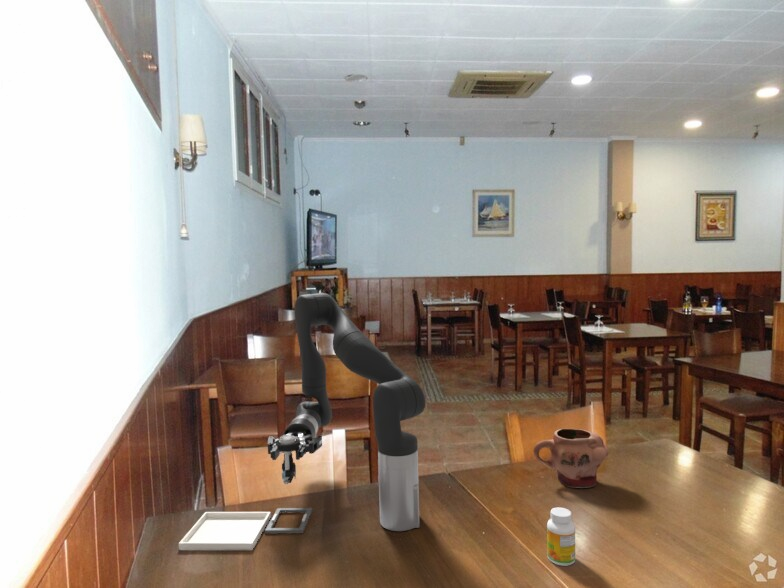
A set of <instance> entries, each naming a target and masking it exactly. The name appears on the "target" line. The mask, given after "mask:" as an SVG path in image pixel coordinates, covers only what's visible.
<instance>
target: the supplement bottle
mask: <svg viewBox="0 0 784 588" xmlns="http://www.w3.org/2000/svg"><path fill="white" fill-rule="evenodd" d="M546 549H547V550H546V555H547V558H548V560H549V562H551V563H553V564H555V565H557V566H563V567H565V566H566V567H567V566H568V567H569V566H571V565H573V564H574V563H575V562H576V526H575V524H574V523H573V521H572V511H570V509H567V508H565V507H560V506H559V507H558V506H557V507H553V508H551V510H550V518H549V519H548V521H547V524H546Z"/></svg>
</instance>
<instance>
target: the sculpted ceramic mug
mask: <svg viewBox="0 0 784 588" xmlns="http://www.w3.org/2000/svg"><path fill="white" fill-rule="evenodd" d="M544 448H547V449H549V450H550V458H548V460H543V459H542V458H541V457H540V452H541V450H542V449H544ZM533 455H534V457H535V459H537V461H539V463H542V465H544V466H545V467H547V468H548V469H551V471H556V473H557V480H558V481H559V482H560V483H561V484H562V485H563V486H566V487H569V488H575V489H576V488H577V489H578V488H579V489H585V488H586V489H588V488H593V487H595V486H596V485H597V483H598V480H597V471H598V468H599V467H600V466H601V465H602V463H603V462H604V461H605V460H606V459H607V457H609V455H610V450H609V448H608V446H606V445H605V444H604V439H603V438H602V437H601V436H600V435H599V434H598V433H596V432H592V431H589V430H587V429H586V430H585V429H577V428H560V429H557V430H555V431H554V432H553V437H552V439H544V440H540V441H538V442H537V443H535V446H534V447H533Z"/></svg>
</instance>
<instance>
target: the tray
mask: <svg viewBox="0 0 784 588" xmlns="http://www.w3.org/2000/svg"><path fill="white" fill-rule="evenodd" d="M270 518H271V519H272V512H271V511H205V512H204V513H203V514H202V515H201V517H200V518H198V520H197V521H196V522H195V523H194V525H193V526H192V527H191V529H190V530H188V532H186V534H185V535H184V536H183V537H182V539H181V540H180V541H179V542H178V551H254V549H253V548H255V546H257V544H258V542H257V541H259V540H260V538H261V537H262V535H261V534H263V533H262V532H265V529H266V528H265V527H267V526H268V524H269V522H270V521H269V520H271V519H270ZM266 525H267V526H266ZM258 539H259V540H258Z"/></svg>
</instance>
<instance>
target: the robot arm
mask: <svg viewBox="0 0 784 588" xmlns="http://www.w3.org/2000/svg"><path fill="white" fill-rule="evenodd" d="M294 319H295V326H296V334H297V341H298V348H299V352H300V358H301V360H300V361H301V362H300V363H301V392H302V394H303V395H305V396H306V397H309V398H313V399H315V400H316V401H307V400H306V401H302V402H300V403H299V404H298V405H297V408H296V412H295V415H296V416H295V418H293V419H292V420H291V422H290V423H289V425H288V426H287V427H286V428H285V431H284V432H283V435H281V436H280V437H282V436H286V435H293V436H295V438H296V439H298V440H299V443H298V448H297V449H296V450H294V451H293V452H295V460H297V461H298V460H300V459H301V458H303V457H304V456H305V455H307V453H309V454H314V453H315V452H317V451H318V450H319V449H320V448H322V447H323V436H322V435H317V434H318V431H319V430H320V428H321V427H326V426H328V425H330V424H331V422H332V419H333V411H332V407H331V406H332V405H331V403H330V400H329V396H328V393H327V392H328V391H327V369H326V363H325V361H324V359H323V357H322V355H321V353H320V352H319V351H318V349H317V347H316V345H315V343H314V340H313V337H312V327H315V326H323V325H325V326H327V327H329V328H330V329H331V330H332V332H333V337H332V350H333V352H334V354H335V356H336V357H337V358H338V359H339V361H341V363H342V364H343V365H344V366H345V367H346V368H347V369H348V370H349V371H350V372H352V373H354V374H356V375H358V376H360V377H362V378H364V379H368V380H370V381H371V382H374V383H376V384H377V385H376V387H375V389H374V390H373V395H372V412H373V423H374V424H373V425H374V434H375V439H376V442H377V457H378V459H377V462H378V463H377V465H378V468H377V469H378V497H379V501H378V502H379V524H380V526H381V527H382V528H385V529H386V530H389V531H393V532H405V531H410V530H413V529H416V528H417V529H418V528H420V497H419V496H420V493H419V489H420V487H419V458H418V457H419V456H418V454H419V453H418V452H419V451H418V444H419V443H418V438H417V436H416V435H415V434H413V433H411V432H408V431H403V430H402V425H401V421H405V420H409V419H412V418H416V417H418V416H420V415H421V414H422V413H423V412H424V410H425V408H426V397H425V393H424V391H423V389H422V387H421V386H420V385H419V383H418V382H417V381H416V380H415V379H414V378H413V377H412V376H410V375H408V374H407V373H406V372H405V371H403V370H402V369H401V368H400V367H398V366H397V365H396V364H395V363H394V362H392V361H391V360H390V359H389V358H388V357H387V356H386V355H385V354H384V353H383V351H381V350H380V349H379V348H378V347H377V346H376V345H375V344H374V342H372V340H370V338H368V336H367V335H366V334H365V333H364V332H363V331H361V330H360V329H359V328H358V327H357V326H356V324H355V323H354V322H353V321H352V320H351V319H350V318H349V317H348V315H347V314H346V313H345V311H343V309H342V308H341V306H340V305H339V303H338V302H337V300H336V299H335V298H334V297H333V296H331V295H330V294H329V293H325V292H320V293H319V292H318V293H317V292H316V293H307V294H300V295H299V296H298V297H297V298H296V299H295V302H294ZM280 437H278V438H275V437H274V436H272V435H270V436H268V439H267V454H268V455H270V459H272V461H276V460H277V459H278V458H279V456H280V455H281V454H284V453H283V452H281V451H278V448H277V445H276V442H277V441H278V440H280Z"/></svg>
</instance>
